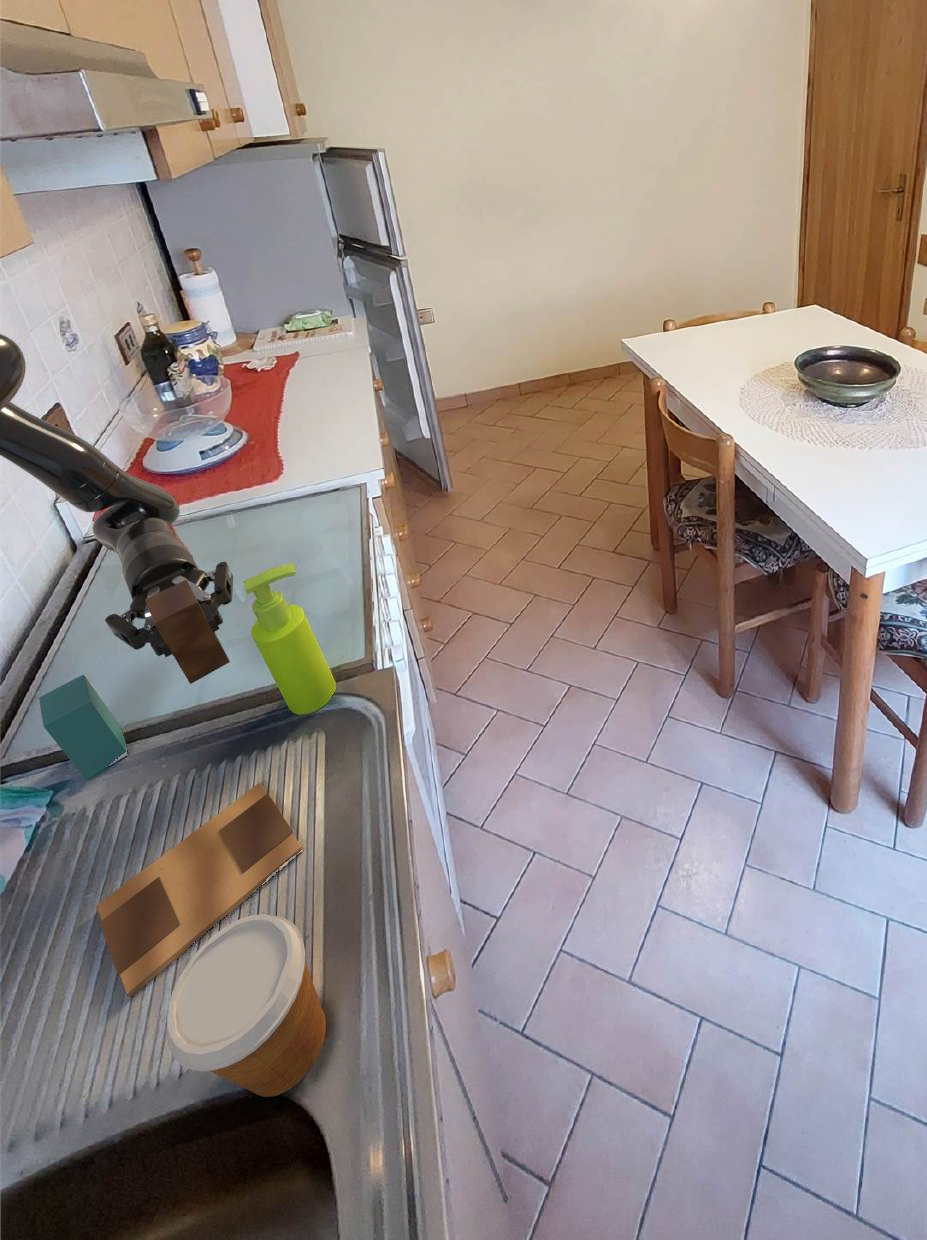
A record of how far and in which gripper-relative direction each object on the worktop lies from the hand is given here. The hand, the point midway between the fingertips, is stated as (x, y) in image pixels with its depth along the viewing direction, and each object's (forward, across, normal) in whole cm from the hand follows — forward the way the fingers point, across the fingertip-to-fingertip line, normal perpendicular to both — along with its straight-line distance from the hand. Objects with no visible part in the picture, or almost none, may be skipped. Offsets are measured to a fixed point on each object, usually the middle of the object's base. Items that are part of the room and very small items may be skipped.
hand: (190, 637), depth 79 cm
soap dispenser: (+3, +9, +15) cm, 18 cm away
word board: (+18, -8, +15) cm, 25 cm away
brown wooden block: (-3, 0, +6) cm, 7 cm away
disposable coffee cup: (+38, -6, +15) cm, 41 cm away
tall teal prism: (-8, -13, +15) cm, 21 cm away
